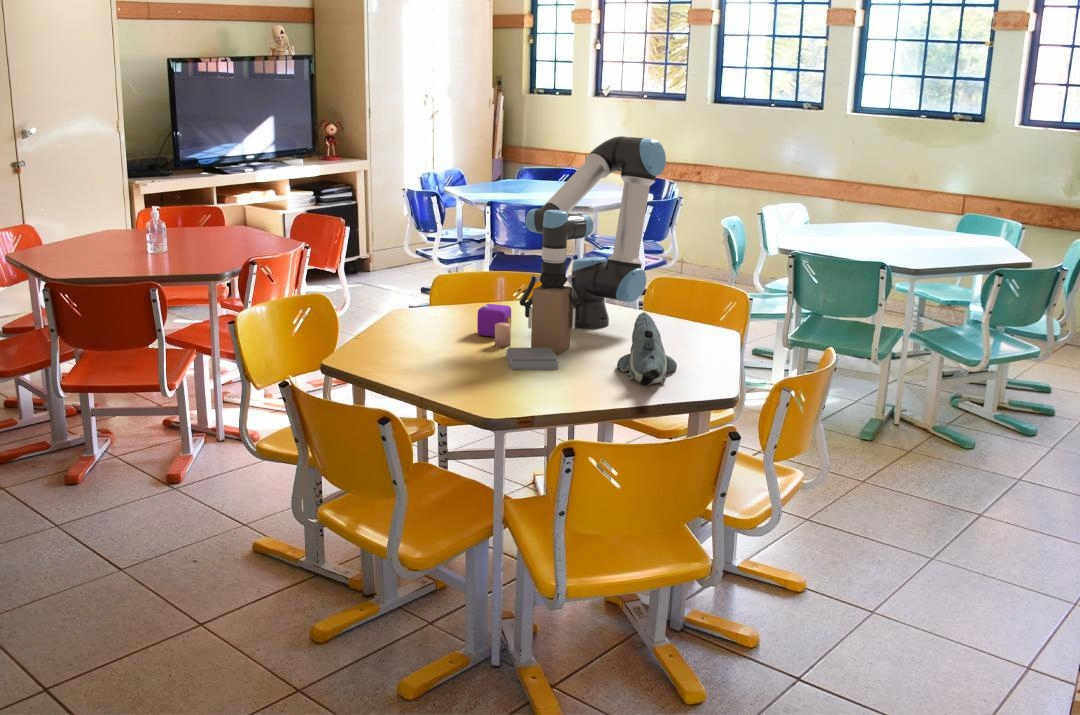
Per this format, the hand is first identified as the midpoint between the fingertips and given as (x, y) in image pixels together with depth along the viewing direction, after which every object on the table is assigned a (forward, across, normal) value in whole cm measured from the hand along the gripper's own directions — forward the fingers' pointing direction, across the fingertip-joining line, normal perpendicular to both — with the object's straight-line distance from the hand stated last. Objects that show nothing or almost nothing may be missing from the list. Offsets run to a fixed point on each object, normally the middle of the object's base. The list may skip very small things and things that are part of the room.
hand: (551, 327), depth 329 cm
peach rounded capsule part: (+7, +15, -5) cm, 17 cm away
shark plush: (+7, -22, +34) cm, 41 cm away
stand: (+7, +8, +15) cm, 18 cm away
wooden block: (+7, 0, 0) cm, 7 cm away
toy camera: (+7, +16, -21) cm, 27 cm away
